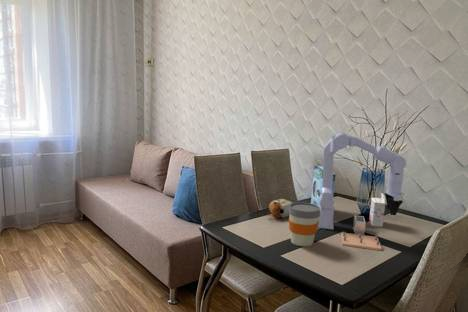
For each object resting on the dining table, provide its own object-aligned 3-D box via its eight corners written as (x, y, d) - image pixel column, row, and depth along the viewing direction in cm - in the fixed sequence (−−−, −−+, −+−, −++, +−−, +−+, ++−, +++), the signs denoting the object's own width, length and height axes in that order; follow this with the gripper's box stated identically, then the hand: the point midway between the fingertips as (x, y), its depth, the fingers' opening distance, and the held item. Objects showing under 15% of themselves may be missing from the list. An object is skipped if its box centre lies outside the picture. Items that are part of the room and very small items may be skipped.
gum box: (310, 206, 188) (313, 165, 184) (319, 206, 188) (322, 166, 184) (321, 219, 169) (325, 173, 165) (332, 219, 169) (336, 174, 165)
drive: (354, 234, 151) (356, 221, 150) (353, 227, 159) (354, 215, 158) (364, 235, 150) (365, 222, 149) (362, 228, 158) (363, 216, 157)
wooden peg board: (342, 245, 139) (342, 239, 139) (340, 234, 150) (341, 228, 150) (381, 250, 135) (382, 244, 135) (377, 238, 147) (377, 233, 146)
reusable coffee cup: (299, 250, 133) (302, 213, 130) (280, 238, 144) (282, 204, 141) (324, 245, 138) (327, 209, 136) (304, 233, 149) (306, 200, 147)
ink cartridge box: (368, 219, 170) (371, 191, 168) (379, 220, 169) (382, 192, 167) (371, 226, 162) (375, 196, 159) (382, 227, 161) (386, 197, 158)
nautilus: (277, 226, 158) (252, 219, 169) (302, 213, 174) (278, 207, 184) (276, 210, 157) (251, 204, 167) (302, 198, 172) (278, 193, 182)
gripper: (408, 187, 141) (404, 218, 143) (401, 179, 155) (397, 208, 157) (390, 185, 143) (386, 216, 145) (384, 178, 157) (381, 206, 159)
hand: (391, 212), depth 151 cm, fingers open, 7 cm apart
